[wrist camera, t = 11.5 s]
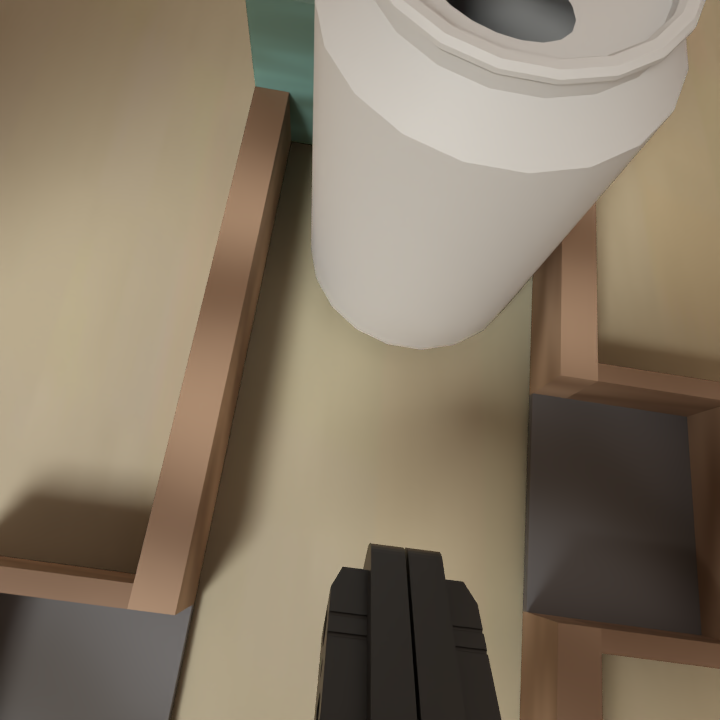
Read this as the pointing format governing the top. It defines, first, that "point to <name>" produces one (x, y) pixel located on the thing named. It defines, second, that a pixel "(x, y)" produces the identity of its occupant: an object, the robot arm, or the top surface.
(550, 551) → the trap channel
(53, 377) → the top surface
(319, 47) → the can
